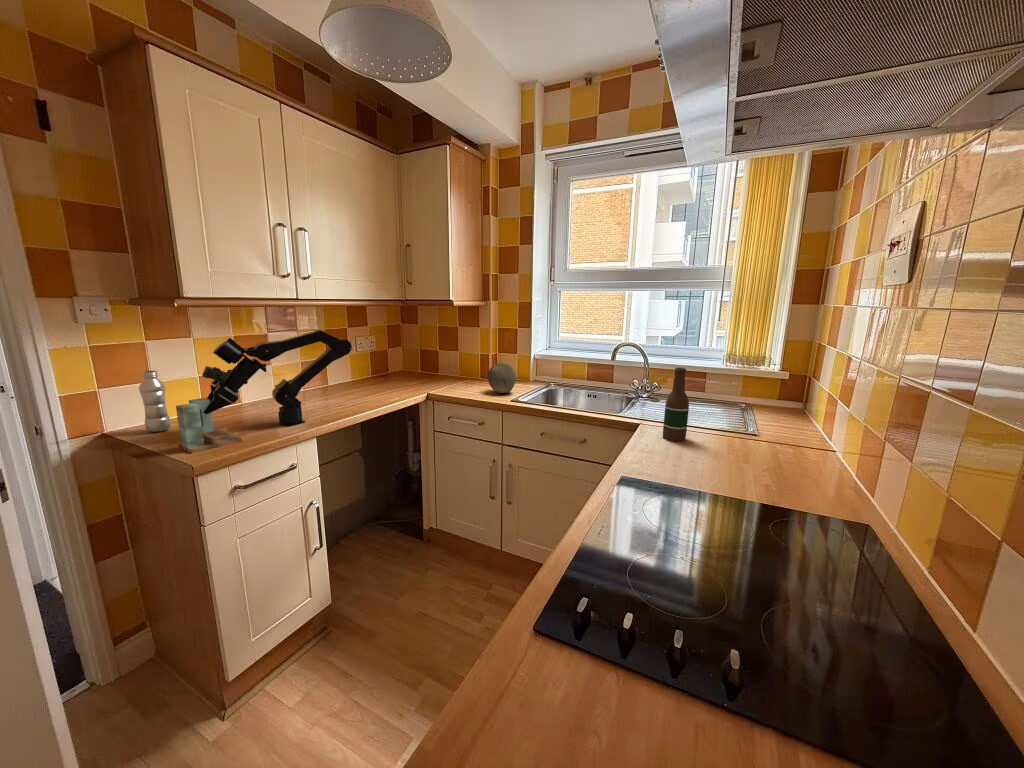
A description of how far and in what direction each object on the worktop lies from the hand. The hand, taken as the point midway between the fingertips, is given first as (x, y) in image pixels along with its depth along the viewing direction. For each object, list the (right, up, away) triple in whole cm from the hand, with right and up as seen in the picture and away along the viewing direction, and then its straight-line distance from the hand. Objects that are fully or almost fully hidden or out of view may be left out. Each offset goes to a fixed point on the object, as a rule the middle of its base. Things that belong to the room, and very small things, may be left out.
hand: (203, 410), depth 130 cm
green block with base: (+7, -10, -6) cm, 13 cm away
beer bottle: (+153, -10, +8) cm, 153 cm away
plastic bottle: (-19, -7, +6) cm, 21 cm away
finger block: (-1, -8, +1) cm, 9 cm away
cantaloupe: (+93, +4, +72) cm, 117 cm away
